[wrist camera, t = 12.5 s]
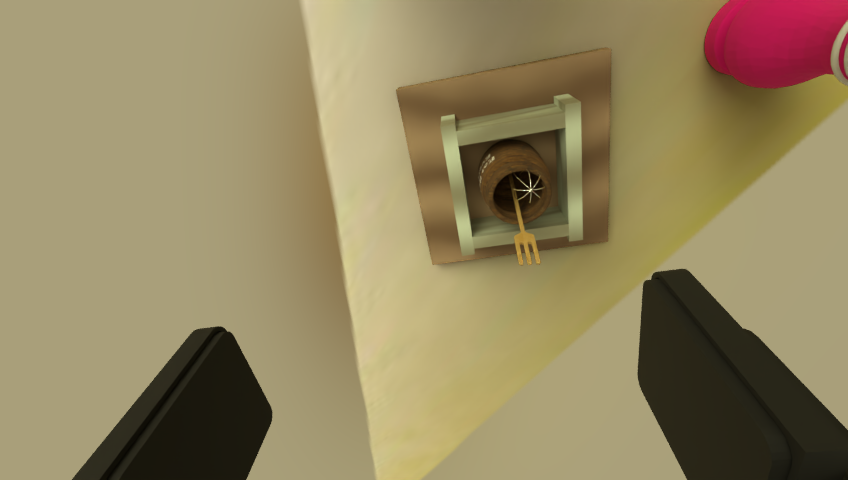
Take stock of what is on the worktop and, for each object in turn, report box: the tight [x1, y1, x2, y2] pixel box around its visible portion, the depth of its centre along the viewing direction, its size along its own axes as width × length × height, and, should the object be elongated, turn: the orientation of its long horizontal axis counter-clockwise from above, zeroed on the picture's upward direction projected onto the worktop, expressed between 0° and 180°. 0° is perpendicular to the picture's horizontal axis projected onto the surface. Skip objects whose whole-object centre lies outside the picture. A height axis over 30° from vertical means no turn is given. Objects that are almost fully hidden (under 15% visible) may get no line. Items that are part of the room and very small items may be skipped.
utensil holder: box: [478, 139, 552, 265], centre depth 34 cm, size 6×6×12 cm
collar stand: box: [396, 48, 611, 265], centre depth 38 cm, size 18×18×6 cm
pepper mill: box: [705, 0, 848, 88], centre depth 25 cm, size 7×7×20 cm
